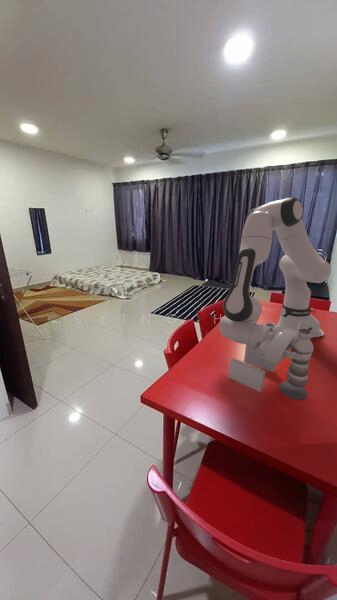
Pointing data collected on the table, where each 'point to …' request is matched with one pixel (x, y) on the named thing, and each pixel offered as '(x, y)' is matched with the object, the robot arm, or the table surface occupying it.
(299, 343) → the plastic bottle
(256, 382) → the guide channel
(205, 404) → the table surface
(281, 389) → the mat
